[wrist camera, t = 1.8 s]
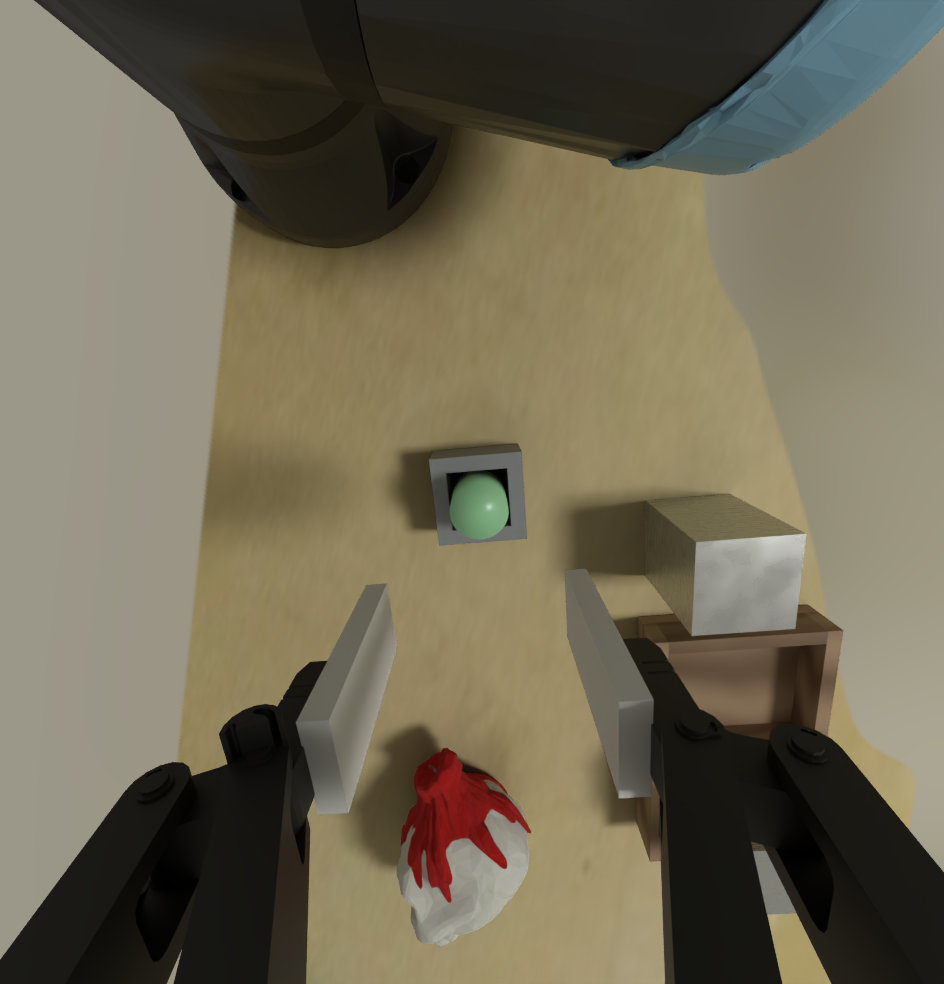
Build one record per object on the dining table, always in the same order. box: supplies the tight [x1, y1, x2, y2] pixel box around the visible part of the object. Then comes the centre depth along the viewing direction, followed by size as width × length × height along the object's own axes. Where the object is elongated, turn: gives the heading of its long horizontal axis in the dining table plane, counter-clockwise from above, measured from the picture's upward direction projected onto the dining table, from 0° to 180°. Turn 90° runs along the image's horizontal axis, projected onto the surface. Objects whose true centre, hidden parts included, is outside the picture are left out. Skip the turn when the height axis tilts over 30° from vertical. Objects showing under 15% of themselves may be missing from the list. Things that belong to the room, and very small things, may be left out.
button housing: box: [429, 444, 527, 546], centre depth 31 cm, size 6×6×3 cm
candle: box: [397, 748, 531, 947], centre depth 37 cm, size 9×11×15 cm
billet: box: [645, 494, 806, 636], centre depth 30 cm, size 6×6×8 cm
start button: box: [450, 470, 509, 540], centre depth 29 cm, size 4×4×4 cm
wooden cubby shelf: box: [636, 605, 843, 862], centre depth 36 cm, size 21×13×4 cm, turn 5°
